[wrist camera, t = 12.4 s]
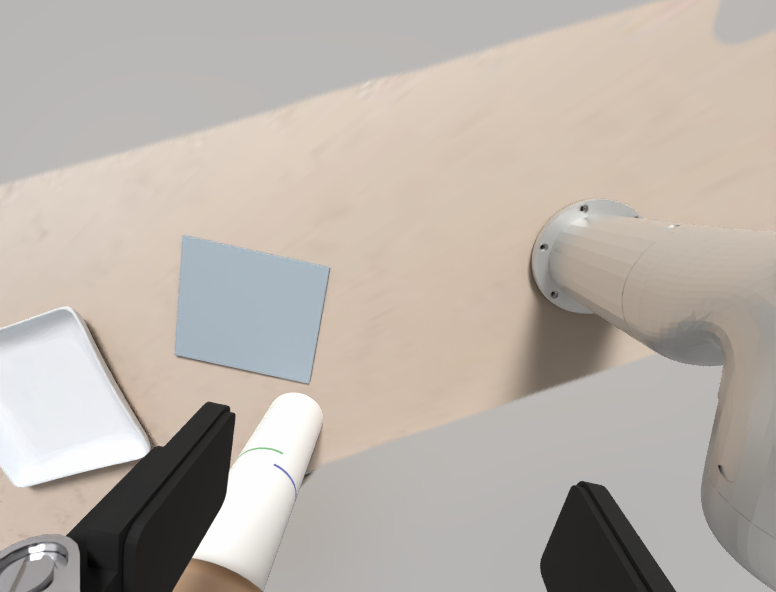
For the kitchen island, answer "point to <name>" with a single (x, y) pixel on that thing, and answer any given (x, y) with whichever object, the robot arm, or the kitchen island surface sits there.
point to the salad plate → (60, 402)
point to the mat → (249, 309)
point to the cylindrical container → (263, 489)
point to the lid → (212, 579)
